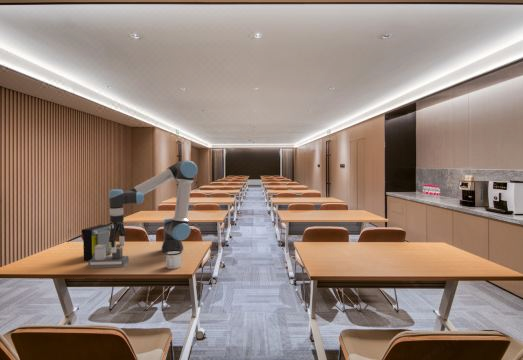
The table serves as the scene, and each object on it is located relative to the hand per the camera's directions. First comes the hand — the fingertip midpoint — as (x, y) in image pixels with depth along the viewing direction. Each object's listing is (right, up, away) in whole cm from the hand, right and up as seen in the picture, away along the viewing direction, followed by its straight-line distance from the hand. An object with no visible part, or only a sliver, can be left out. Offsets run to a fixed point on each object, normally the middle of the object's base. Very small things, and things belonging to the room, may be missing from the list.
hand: (118, 249), depth 187 cm
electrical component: (-21, -9, +16) cm, 28 cm away
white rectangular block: (-10, -8, -1) cm, 13 cm away
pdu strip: (-5, -9, 0) cm, 11 cm away
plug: (0, -8, 0) cm, 8 cm away
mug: (+35, -10, -5) cm, 37 cm away
